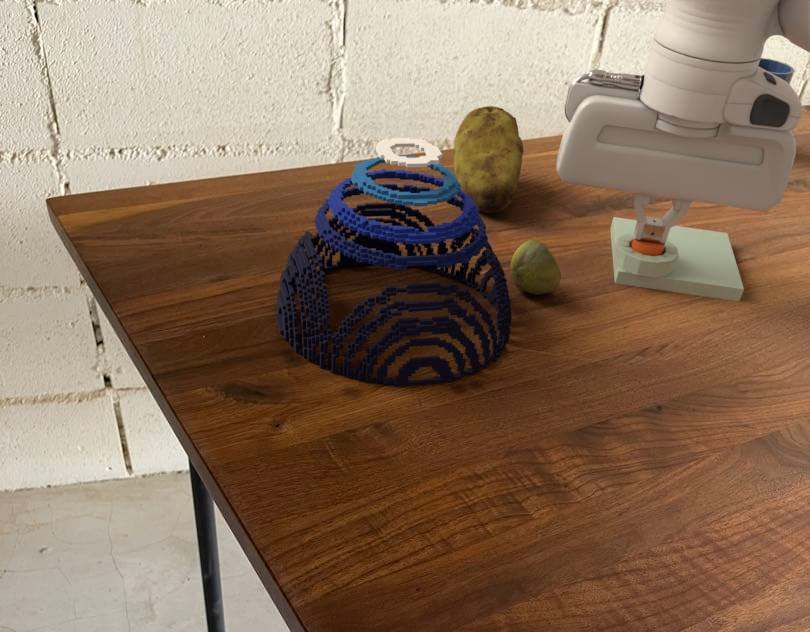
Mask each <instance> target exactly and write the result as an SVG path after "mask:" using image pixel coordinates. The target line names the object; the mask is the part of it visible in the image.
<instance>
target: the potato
mask: <svg viewBox="0 0 810 632" xmlns="http://www.w3.org/2000/svg"><path fill="white" fill-rule="evenodd" d="M523 155H524V144H523V140H522V138H521V137H520V132H519V125H518V122H517V118H516V117H514V115H512V114H511V113H510V112H508V111H507V110H505V109H503V108H501V107H498V106H494V105H489V106H488V105H487V106H482V107H478V108H475V109H472V110H471V111H470V112H469V113H468V114H467V115H465V117H464V118H463V120H462V121H461V123H460V125H459V126H458V129H457V131H456V134H455V137H454V145H453V169H454V172H453V174H454V176H455V177H456V179H457V180H458V182H459V183H460V184H461V187H460V189H461V190H462V191H463V192H464V193H465V195H469V196H470V198H471V199H472V201H473V202H474V203H475V205H476V206H477V208H478V209H479V212H481V213H485V214H487V215H490V214H494V213H499V212H501V211H504V210H505V209H506V208H507V207H508V206H509V205H510V204H511V203H512V201H514V198H515V196H516V193H517V192H516V191H517V188H518V186H519V182H520V180H519V179H520V175H521V170H522V165H523Z"/></svg>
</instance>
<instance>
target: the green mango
mask: <svg viewBox="0 0 810 632" xmlns="http://www.w3.org/2000/svg"><path fill="white" fill-rule="evenodd" d="M509 264H510V265H509V269H510V277H511V279H512V282H513V284H514V285H515V286H516V287H517V288H518V289H519V290H521V291H523V292H526V293H529V294H531V295H535V296H537V295H538V296H539V295H547V294H549V293H551V292H553V291H554V290H556V289H557V288H558V287H559V286H560V283H561V279H562V272H561V270H560V267H559V265H558V262H557V260H556V259H555V256H554V255H553V254H552V253H551V251H550V250H549V248H548V247H547V246H546V245H545V244H544V243H543V242H542V241H539V240H537V239H529V240H527V241H525V242H524V243H522V244H521V245H520V246H519V247H518V248H517V249H516V250H515V252H514V253H513V255H512V257H511V261H510V263H509Z"/></svg>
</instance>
